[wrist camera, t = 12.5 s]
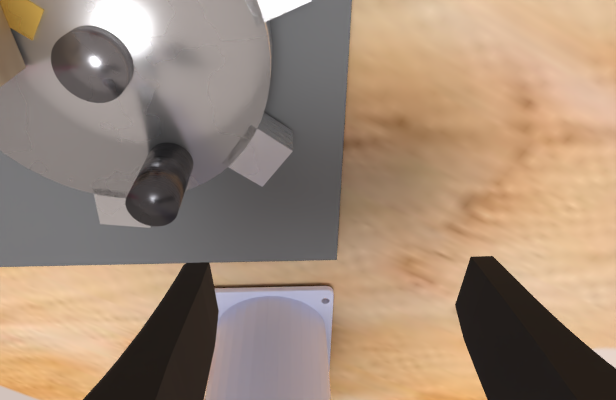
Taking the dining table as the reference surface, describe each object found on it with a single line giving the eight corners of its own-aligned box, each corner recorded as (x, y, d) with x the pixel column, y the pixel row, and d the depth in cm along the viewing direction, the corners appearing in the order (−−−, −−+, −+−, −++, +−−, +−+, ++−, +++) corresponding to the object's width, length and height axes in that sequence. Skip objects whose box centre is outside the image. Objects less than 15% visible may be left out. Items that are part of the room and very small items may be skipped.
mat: (335, 247, 25) (336, 259, 24) (-89, 256, 24) (-102, 269, 23) (361, -245, 13) (366, -253, 12) (-485, -252, 12) (-539, -261, 11)
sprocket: (388, 14, 16) (418, 57, 12) (200, 243, 23) (182, 317, 19) (-100, -417, 10) (-338, -596, 6) (-161, 69, 16) (-294, 126, 13)
